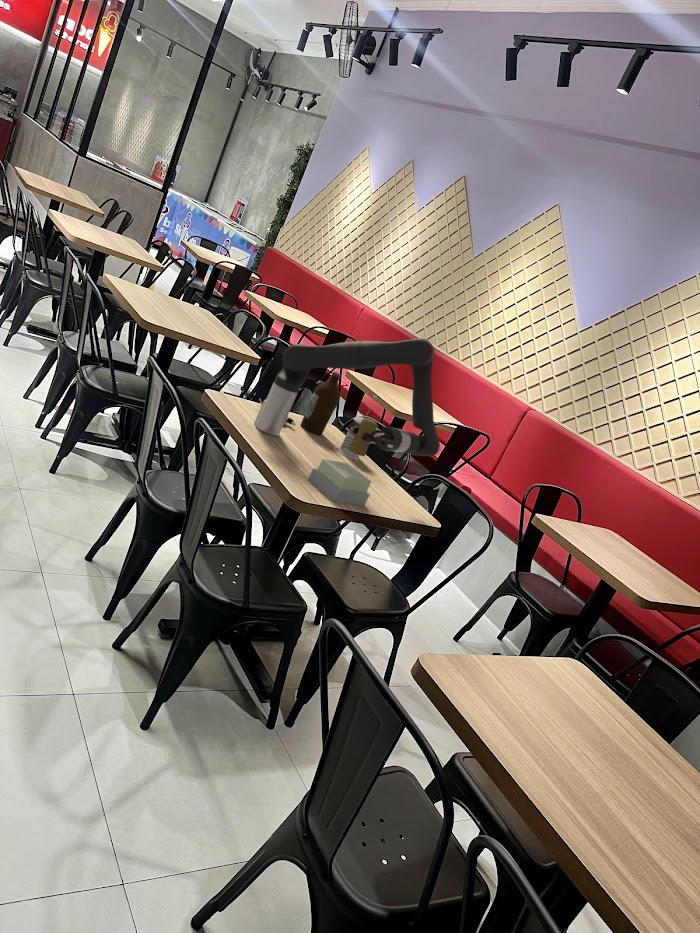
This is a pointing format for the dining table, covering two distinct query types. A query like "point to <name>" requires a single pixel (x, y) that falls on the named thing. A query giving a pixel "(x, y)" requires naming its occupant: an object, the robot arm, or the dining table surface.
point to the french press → (349, 438)
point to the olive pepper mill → (357, 443)
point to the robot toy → (286, 418)
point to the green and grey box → (341, 482)
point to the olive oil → (322, 405)
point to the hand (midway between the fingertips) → (358, 433)
